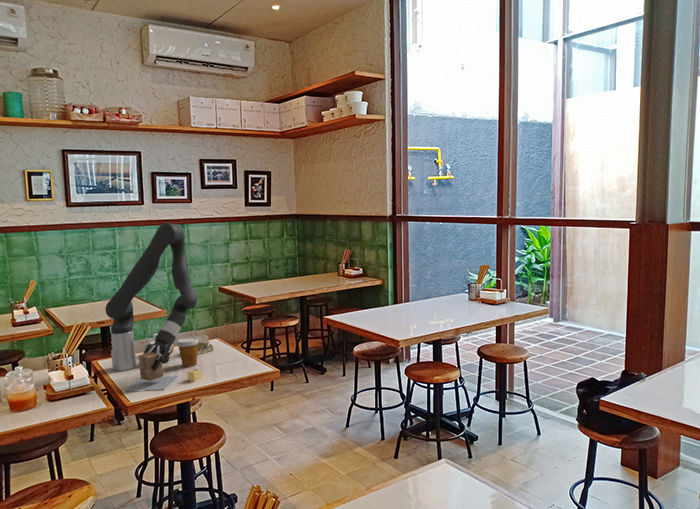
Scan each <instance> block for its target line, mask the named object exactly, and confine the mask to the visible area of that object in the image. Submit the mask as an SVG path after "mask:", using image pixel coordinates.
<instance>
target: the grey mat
mask: <svg viewBox="0 0 700 509" xmlns="http://www.w3.org/2000/svg"><path fill="white" fill-rule="evenodd" d="M178 377H179V376H178V375H168V376H167V375H163V376H162V377H160V378H157V379H155V380H152V381H149V380H144V379H141V377H140V378H138V380H136V381H135V382H134V383H132V384H131V385H130V386H129V387H127V388H126V389H125V390H124V392H125V391H132V392H139V391H138V390H154V391H165V390H166V389H167V388H168V387H170V385H171V384H172V383H173V382H174V381H176V379H177V378H178ZM166 387H167V388H166ZM165 388H166V389H165ZM162 389H163V390H162ZM164 389H165V390H164Z"/></svg>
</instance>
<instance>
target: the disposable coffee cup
mask: <svg viewBox="0 0 700 509" xmlns="http://www.w3.org/2000/svg"><path fill="white" fill-rule="evenodd" d="M198 342H199V341H198V339H197V338H195V337H190V336H189V337H183V338H179V339H178V340H177V343H176V345H177V346H178V350H179V355H180V360H181V364H182V367H183V368H191V367H194V366H197V364H198V355H197V350H198Z"/></svg>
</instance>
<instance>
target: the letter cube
mask: <svg viewBox="0 0 700 509" xmlns="http://www.w3.org/2000/svg"><path fill="white" fill-rule="evenodd" d="M202 376H203V375H202V369H197V368H194V369H190V370H187V381H188V380H190V381H189V382H192V381H196V380H198V381H200V380H199V379H201V378H202V379H203V377H202ZM202 379H201V380H202ZM196 382H197V381H196Z"/></svg>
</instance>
